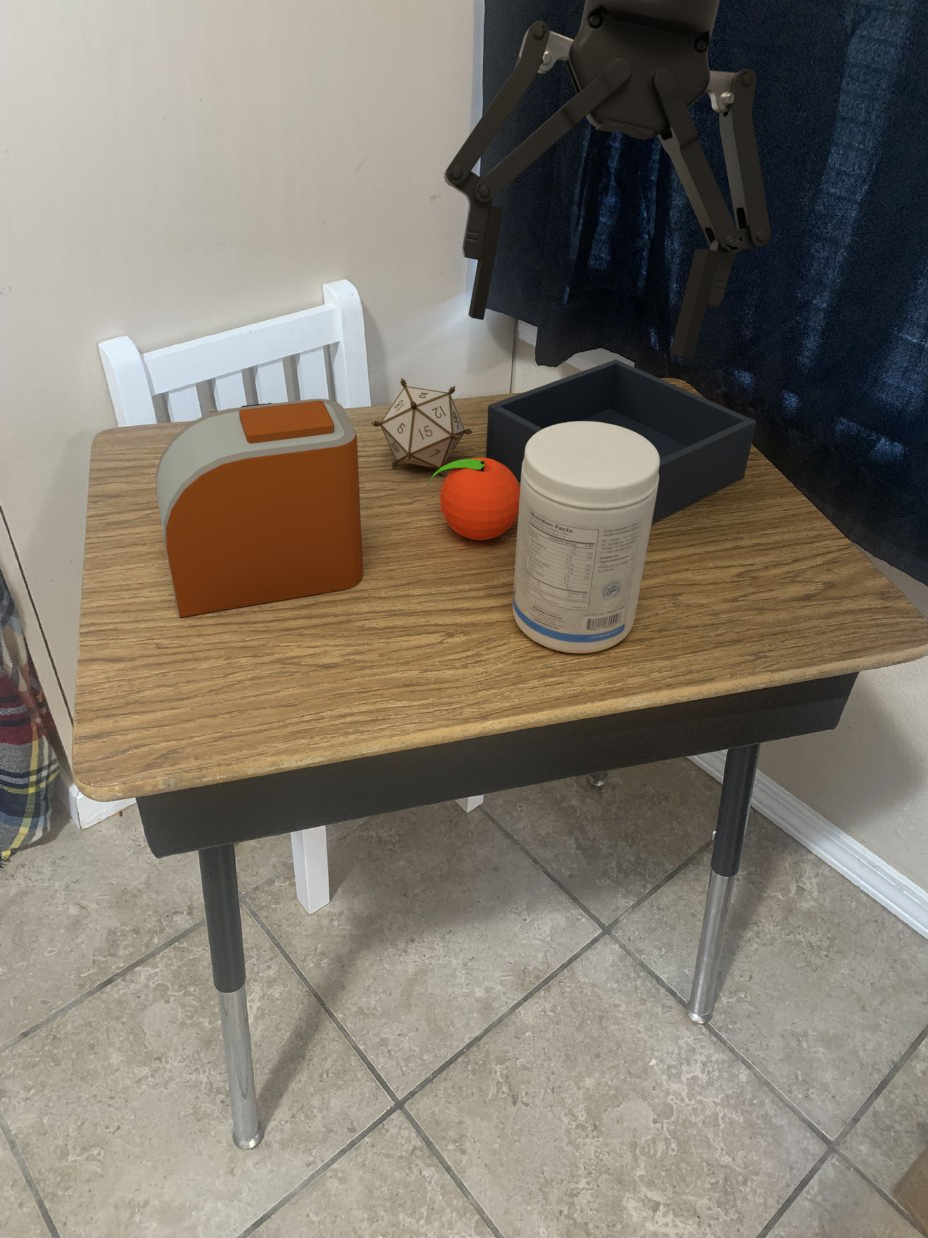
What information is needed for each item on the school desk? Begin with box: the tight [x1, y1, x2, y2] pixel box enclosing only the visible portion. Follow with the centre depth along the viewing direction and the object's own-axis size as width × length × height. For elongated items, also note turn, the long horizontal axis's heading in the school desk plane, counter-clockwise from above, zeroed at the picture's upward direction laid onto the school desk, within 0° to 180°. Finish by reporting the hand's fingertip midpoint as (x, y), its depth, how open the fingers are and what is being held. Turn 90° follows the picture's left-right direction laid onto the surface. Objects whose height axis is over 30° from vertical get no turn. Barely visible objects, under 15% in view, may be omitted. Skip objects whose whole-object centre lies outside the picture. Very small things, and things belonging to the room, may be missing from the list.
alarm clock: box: [155, 398, 364, 618], centre depth 75 cm, size 15×8×14 cm, turn 108°
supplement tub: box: [512, 421, 660, 654], centre depth 71 cm, size 10×10×15 cm
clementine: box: [427, 457, 520, 541], centre depth 83 cm, size 8×7×7 cm
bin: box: [485, 359, 758, 526], centre depth 93 cm, size 18×18×6 cm
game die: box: [370, 377, 474, 478], centre depth 92 cm, size 9×8×10 cm
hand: (579, 337), depth 62 cm, fingers open, 13 cm apart
